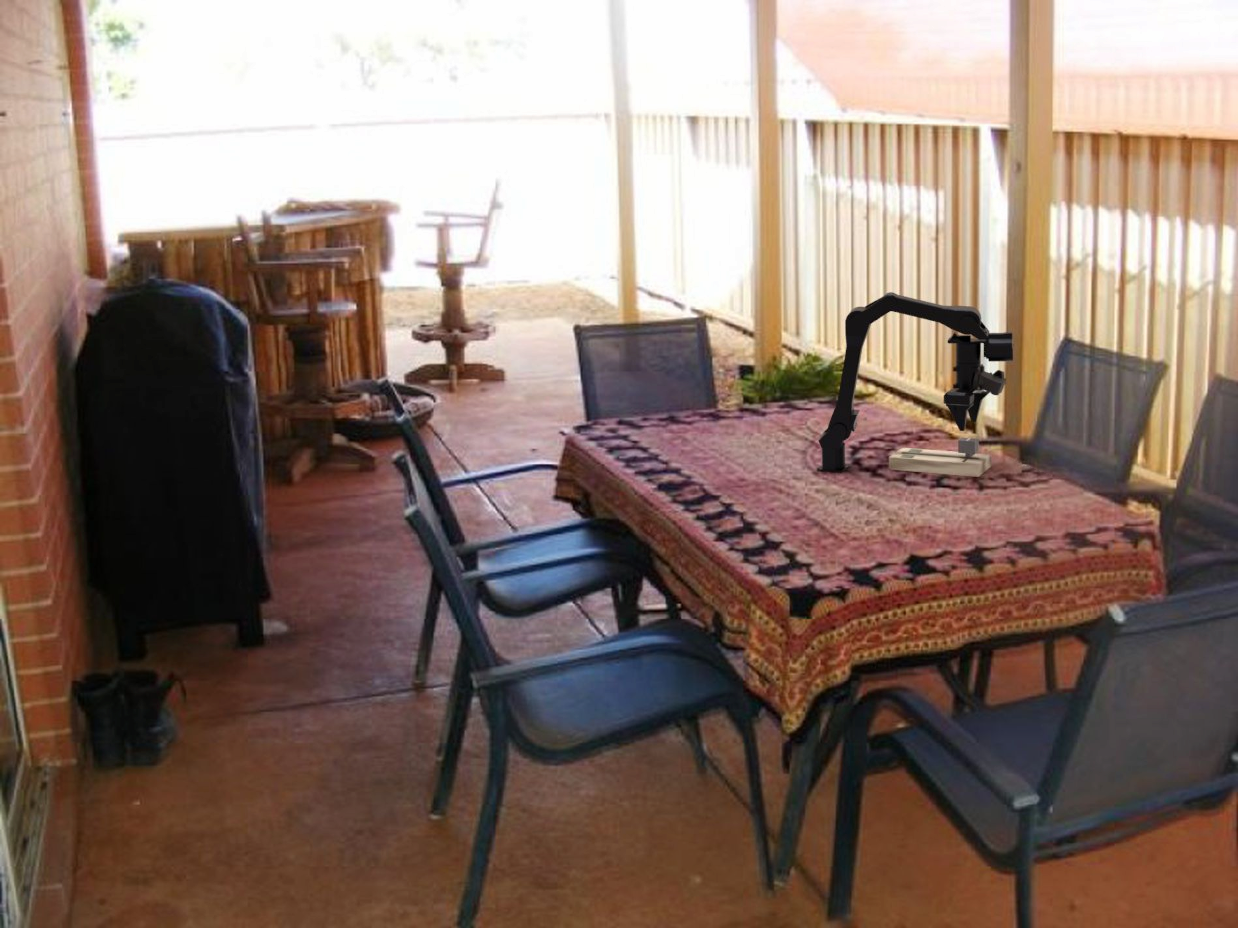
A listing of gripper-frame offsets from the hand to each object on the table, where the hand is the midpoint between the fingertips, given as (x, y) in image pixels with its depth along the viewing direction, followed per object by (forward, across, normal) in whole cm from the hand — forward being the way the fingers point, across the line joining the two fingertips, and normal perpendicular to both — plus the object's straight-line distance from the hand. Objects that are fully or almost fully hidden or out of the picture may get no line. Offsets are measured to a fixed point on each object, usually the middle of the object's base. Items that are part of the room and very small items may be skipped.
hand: (968, 426), depth 357 cm
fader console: (+11, 0, +7) cm, 13 cm away
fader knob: (+7, 0, 0) cm, 7 cm away
